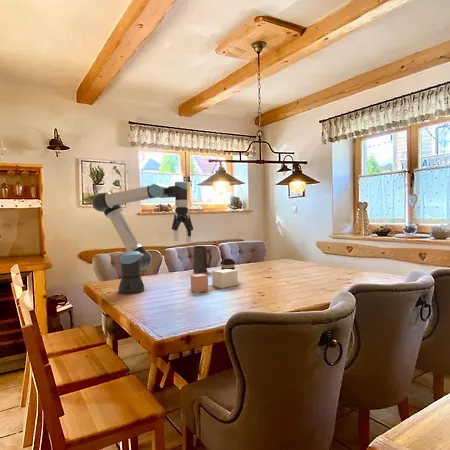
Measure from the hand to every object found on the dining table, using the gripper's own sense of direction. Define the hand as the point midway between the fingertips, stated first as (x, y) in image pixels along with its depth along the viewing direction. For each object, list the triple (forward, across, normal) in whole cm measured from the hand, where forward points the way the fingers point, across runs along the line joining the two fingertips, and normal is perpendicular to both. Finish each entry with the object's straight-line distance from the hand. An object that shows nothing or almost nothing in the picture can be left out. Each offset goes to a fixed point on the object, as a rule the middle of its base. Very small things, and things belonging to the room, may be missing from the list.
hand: (182, 241), depth 220 cm
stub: (+28, -17, 0) cm, 33 cm away
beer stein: (+29, +36, -43) cm, 63 cm away
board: (+29, -17, -11) cm, 35 cm away
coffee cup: (+29, -7, -31) cm, 43 cm away
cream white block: (+28, -17, -20) cm, 38 cm away
